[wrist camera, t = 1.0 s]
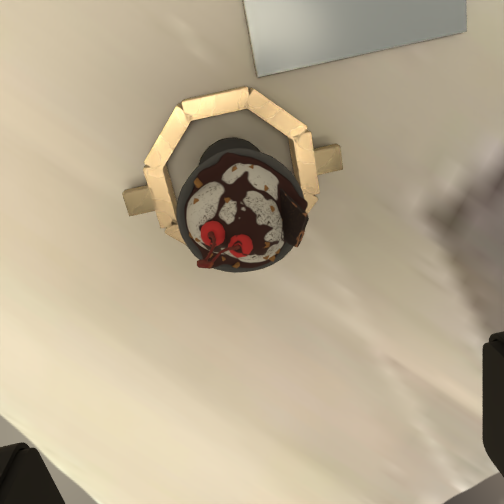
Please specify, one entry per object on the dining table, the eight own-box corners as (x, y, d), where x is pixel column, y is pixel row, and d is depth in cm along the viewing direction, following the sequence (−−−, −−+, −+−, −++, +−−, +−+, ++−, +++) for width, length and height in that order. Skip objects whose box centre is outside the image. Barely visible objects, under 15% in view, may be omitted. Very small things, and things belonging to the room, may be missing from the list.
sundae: (167, 182, 33) (136, 268, 19) (223, 105, 31) (234, 136, 17) (239, 234, 35) (260, 345, 21) (296, 163, 33) (359, 234, 19)
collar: (321, 69, 31) (330, 69, 28) (341, 223, 35) (350, 234, 33) (106, 116, 31) (98, 120, 28) (153, 264, 35) (149, 278, 33)
